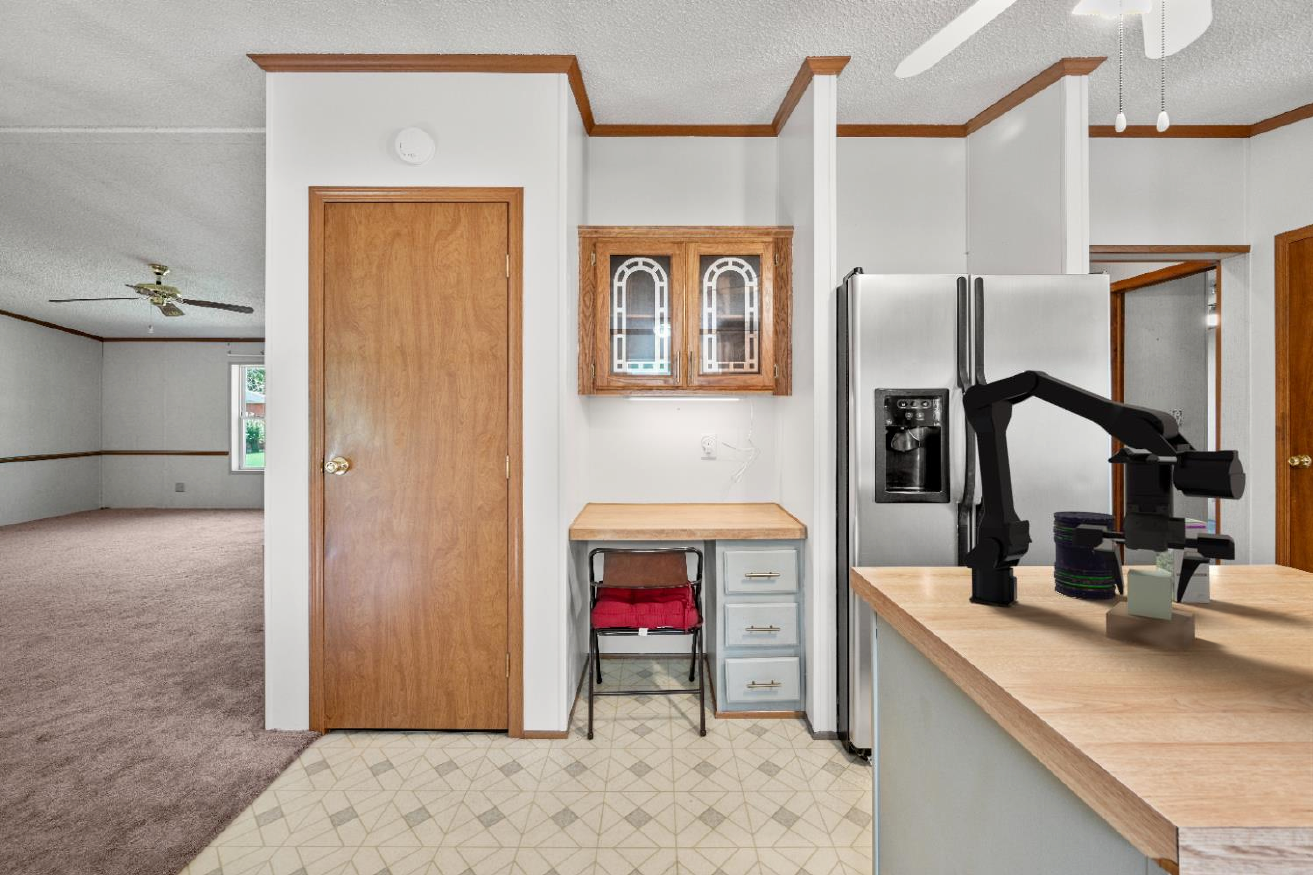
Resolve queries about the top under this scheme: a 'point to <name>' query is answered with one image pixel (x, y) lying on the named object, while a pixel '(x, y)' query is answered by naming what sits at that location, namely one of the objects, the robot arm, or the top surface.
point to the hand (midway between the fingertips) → (1149, 598)
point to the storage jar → (1081, 558)
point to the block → (1151, 628)
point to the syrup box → (1173, 561)
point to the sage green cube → (1149, 593)
